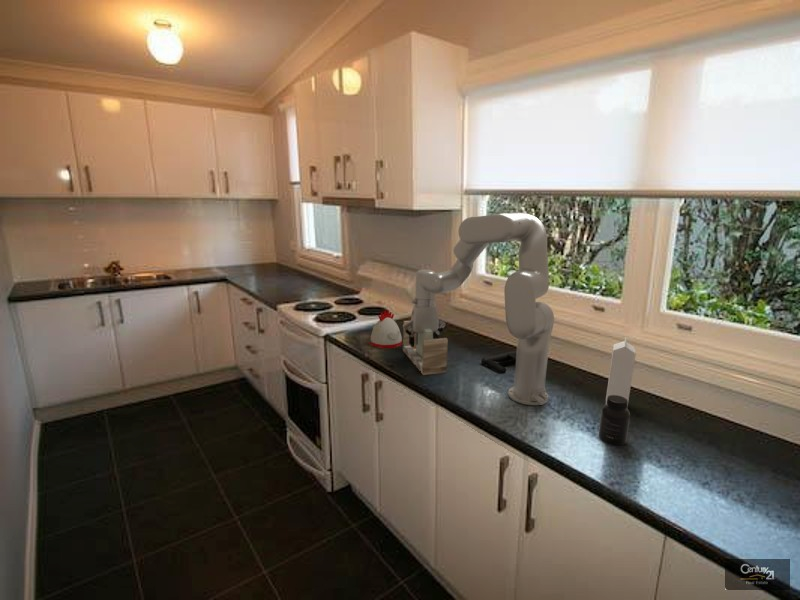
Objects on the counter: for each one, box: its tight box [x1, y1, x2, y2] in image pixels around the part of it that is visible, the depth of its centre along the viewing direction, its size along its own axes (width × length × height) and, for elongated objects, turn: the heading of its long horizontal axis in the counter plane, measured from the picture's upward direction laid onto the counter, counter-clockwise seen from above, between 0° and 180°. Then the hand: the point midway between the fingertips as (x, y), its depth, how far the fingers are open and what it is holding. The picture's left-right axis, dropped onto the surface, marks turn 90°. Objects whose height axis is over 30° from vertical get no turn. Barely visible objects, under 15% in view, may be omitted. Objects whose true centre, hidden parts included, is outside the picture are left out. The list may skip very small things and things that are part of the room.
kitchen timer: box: [370, 309, 403, 349], centre depth 186 cm, size 14×14×15 cm
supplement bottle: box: [598, 395, 631, 447], centre depth 113 cm, size 7×7×12 cm
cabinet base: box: [402, 320, 449, 376], centre depth 166 cm, size 26×9×13 cm, turn 16°
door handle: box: [480, 349, 517, 374], centre depth 164 cm, size 3×20×16 cm
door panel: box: [416, 329, 434, 359], centre depth 166 cm, size 12×3×13 cm, turn 16°
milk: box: [605, 336, 637, 408], centre depth 131 cm, size 6×6×22 cm
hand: (423, 344), depth 166 cm, fingers open, 9 cm apart
